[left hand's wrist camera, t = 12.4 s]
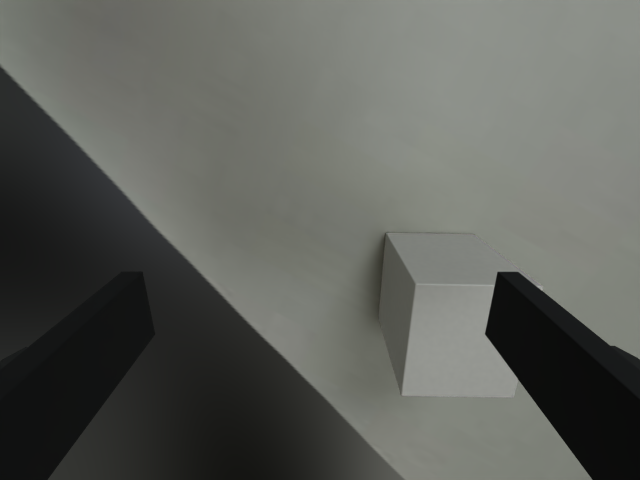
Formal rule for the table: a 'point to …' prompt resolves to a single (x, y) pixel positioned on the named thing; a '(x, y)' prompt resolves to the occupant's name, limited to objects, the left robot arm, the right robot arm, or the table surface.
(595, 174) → the table surface
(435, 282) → the block
